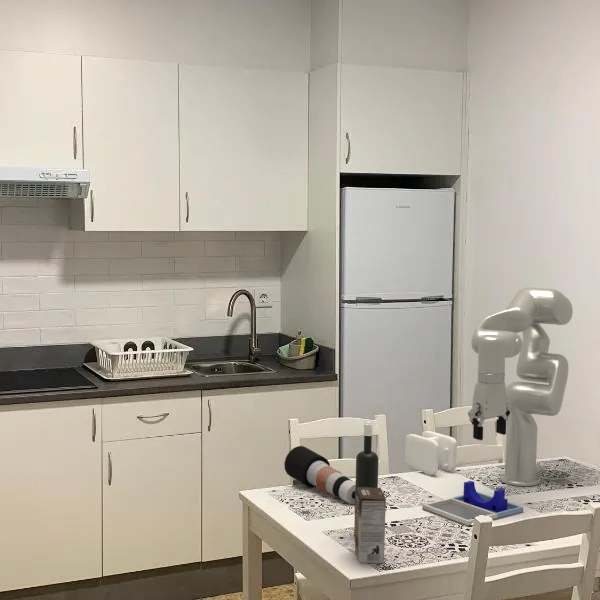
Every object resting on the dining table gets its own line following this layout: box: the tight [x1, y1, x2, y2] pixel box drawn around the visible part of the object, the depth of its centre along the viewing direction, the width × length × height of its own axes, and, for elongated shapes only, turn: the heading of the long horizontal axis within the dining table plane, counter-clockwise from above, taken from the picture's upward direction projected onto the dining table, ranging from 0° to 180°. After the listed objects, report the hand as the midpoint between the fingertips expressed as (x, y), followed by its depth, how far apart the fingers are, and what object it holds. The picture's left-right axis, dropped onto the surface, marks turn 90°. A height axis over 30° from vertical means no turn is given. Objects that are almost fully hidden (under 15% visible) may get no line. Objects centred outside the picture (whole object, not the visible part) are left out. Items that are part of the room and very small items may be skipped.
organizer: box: [404, 430, 458, 476], centre depth 313 cm, size 15×11×12 cm
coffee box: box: [354, 487, 387, 564], centre depth 233 cm, size 9×6×16 cm
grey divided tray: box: [421, 491, 524, 527], centre depth 271 cm, size 22×18×2 cm
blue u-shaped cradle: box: [462, 480, 508, 513], centre depth 274 cm, size 12×4×6 cm, turn 44°
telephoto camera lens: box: [283, 445, 356, 505], centre depth 285 cm, size 10×34×10 cm, turn 35°
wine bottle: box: [353, 421, 379, 537], centre depth 248 cm, size 6×6×30 cm
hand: (489, 436), depth 275 cm, fingers open, 9 cm apart
